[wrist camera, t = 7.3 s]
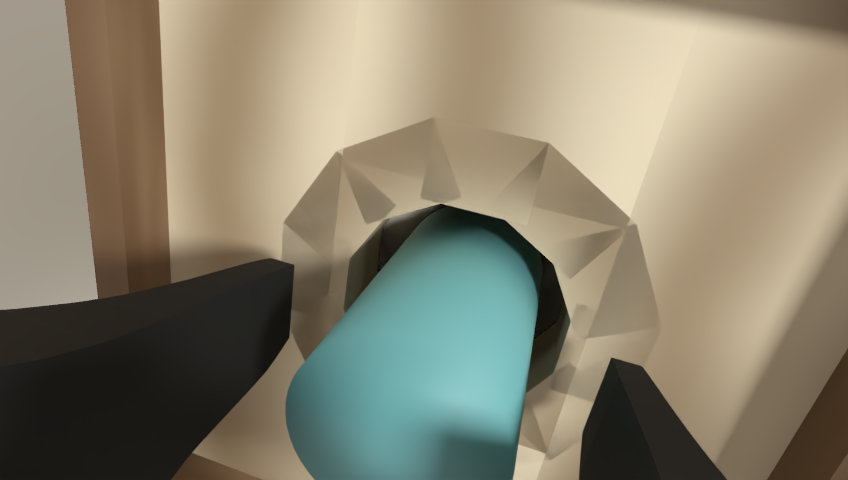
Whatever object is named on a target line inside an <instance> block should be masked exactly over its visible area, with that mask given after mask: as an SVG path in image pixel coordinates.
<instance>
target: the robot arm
mask: <svg viewBox="0 0 848 480" xmlns="http://www.w3.org/2000/svg"><path fill="white" fill-rule="evenodd" d="M293 279H294V265H293V264H290V263H287V262H283V261H280V260H276V259H273V258H268V259H262V260H257V261H253V262H249V263H245V264H241V265H238V266H234V267H231V268H227V269H224V270H220V271H216V272H213V273H209V274H206V275H202V276H198V277H195V278H191V279H188V280H184V281H180V282H175V283H171V284H167V285H163V286H159V287H155V288H151V289H147V290H143V291H138V292H134V293H129V294H124V295H118V296H113V297H107V298H101V299H95V300H89V301H83V302H76V303H68V304H58V305H49V306H40V307H31V308H22V309H10V310H0V480H171V479H172V478H173V477H174V475H175V474H176V473H177V471H178V470H179V469H180V467H181V466H182V465H183V463H184V462H185V461H186V459H187V458H188V457H189V456H190V455H191V454H192V452H193V451H194V450H195V449H196V448H197V447H198V445H199V444H200V443H201V442H202V441H203V440H204V439H205V438H206V437H207V436H208V434H209V433H210V432H211V431H212V430H213V429H214V428H215V427H216V426H217V425H218V424H219V423H220V422H221V420H222V419H223V418H224V417H225V416H226V415H227V414H228V413H229V412H230V411H231V410H232V409H233V408H234V406H235V405H236V404H237V403H238V402H239V401H240V400H241V399H242V398H243V397H244V396H245V395H246V393H247V392H248V391H249V390H250V389H251V388H252V387H253V386H254V385H255V384H256V383H257V381H258V380H259V379H260V378H261V377H262V376H263V375H264V374H265V372H266V371H267V370H268V368H269V367H270V366H271V364H272V363H273V362H274V360H275V359H276V357H277V356H278V354H279V353H280V351H281V350H282V348H283V347H284V345H285V344H286V342H287V341H288V339H289V337H290V323H291V308H292V293H293ZM579 480H727V479H726V477H725V476H724V475H723V474H722V473H721V471H720V470H719V469H718V468H717V467H716V465H715V464H714V463H713V462H712V461H711V459H710V458H709V457H708V456H707V454H706V453H705V452H704V451H703V449H702V448H701V447H700V445H699V444H698V443H697V441H696V440H695V439H694V438H693V436H692V435H691V434H690V432H689V431H688V430H687V428H686V427H685V425H684V424H683V423H682V421H681V420H680V419H679V417H678V416H677V414H676V413H675V412H674V410H673V409H672V407H671V406H670V405H669V403H668V402H667V400H666V399H665V398H664V396H663V395H662V393H661V392H660V390H659V389H658V387H657V386H656V385H655V383H654V382H653V380H652V379H651V378H650V376H649V375H648V373H647V372H646V371H645V369H644V368H643V367H642V366H640V365H636V364H633V363H630V362H626V361H623V360H619V359H616V358H612V357H611V359H610V362H609V365H608V367H607V370H606V372H605V375H604V378H603V380H602V383H601V385H600V388H599V390H598V393H597V396H596V398H595V401H594V403H593V406H592V409H591V411H590V414H589V416H588V419H587V421H586V424H585V427H584V429H583V432H582V443H581V454H580V468H579Z"/></svg>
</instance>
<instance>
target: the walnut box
mask: <svg viewBox="0 0 848 480" xmlns="http://www.w3.org/2000/svg"><path fill="white" fill-rule="evenodd" d="M65 6H66V14H67V23H68V33H69V42H70V50H71V59H72V68H73V77H74V86H75V95H76V104H77V112H78V122H79V130H80V140H81V147H82V148H81V149H82V157H83V166H84V175H85V184H86V193H87V202H88V211H89V220H90V229H91V237H92V247H93V256H94V265H95V273H96V283H97V292H98V299H101V298H107V297H113V296H118V295H124V294H129V293H134V292H138V291H143V290H147V289H151V288H155V287H159V286H163V285H167V284H171V283H175V282H180V281H184V280H188V279H191V278H195V277H198V276H202V275H206V274H209V273H213V272H216V271H220V270H224V269H227V268H231V267H234V266H238V265H241V264H245V263H249V262H253V261H257V260H262V259H268V258H273V259H276V260H280V261H283V262H287V263H290V264H293V265H294V279H293V293H292V308H291V323H290V337H289V339H288V341H287V342H286V344H285V345H284V347H283V348H282V350H281V351H280V353H279V354H278V356H277V357H276V359H275V360H274V362H273V363H272V364H271V366H270V367H269V368H268V370H267V371H266V372H265V374H264V375H263V376H262V377H261V378H260V379H259V380H258V381H257V383H256V384H255V385H254V386H253V387H252V388H251V389H250V390H249V391H248V392H247V393H246V395H245V396H244V397H243V398H242V399H241V400H240V401H239V402H238V403H237V404H236V405H235V406H234V408H233V409H232V410H231V411H230V412H229V413H228V414H227V415H226V416H225V417H224V418H223V419H222V420H221V422H220V423H219V424H218V425H217V426H216V427H215V428H214V429H213V430H212V431H211V432H210V433H209V434H208V436H207V437H206V438H205V439H204V440H203V441H202V442H201V443H200V444H199V445H198V447H197V448H196V449H195V450H194V451H193V452H192V454H191V455H190V456H189V457H188V458H187V459H186V461H185V462H184V463H183V465H182V466H181V467H180V469H179V470H178V471H177V473H176V474H175V475H174V477H173V478H172V479H171V480H314V478H313V477H312V476H311V475H310V474H309V472H308V471H307V470H306V468H305V467H304V465H303V464H302V462H301V461H300V459H299V457H298V455H297V453H296V452H295V450H294V447H293V445H292V442H291V440H290V437H289V433H288V429H287V425H286V417H285V402H286V397H287V392H288V389H289V386H290V383H291V381H292V379H293V377H294V375H295V374H296V372H297V370H298V369H299V368H300V367H301V365H302V364H303V363H304V362H305V361H306V359H307V358H308V357H309V356H310V355H311V353H312V352H313V351H314V350H315V349H316V347H317V346H318V345H319V344H320V343H321V341H322V340H323V339H324V338H325V337H326V335H327V334H328V333H329V332H330V331H331V329H332V328H333V327H334V326H335V325H336V323H337V322H338V321H339V320H340V319H341V317H342V316H343V315H344V314H345V313H346V311H347V310H348V309H349V308H350V307H351V305H352V304H353V303H354V302H355V301H356V299H357V298H358V297H359V296H360V294H361V293H362V292H363V291H364V290H365V288H366V287H367V286H368V285H369V284H370V282H371V281H372V280H373V279H374V278H375V276H376V275H377V274H378V271H377V266H378V259H379V252H380V245H381V238H382V231H383V225H384V224H385V223H386V222H387V221H388V220H389V218H391V217H394V216H398V215H402V214H405V213H409V212H412V211H416V210H420V209H423V208H427V207H430V206H434V205H438V204H445V205H449V206H453V207H457V208H460V209H464V210H468V211H472V212H476V213H480V214H484V215H488V216H492V217H496V218H500V219H504V220H506V221H507V222H508V223H509V224H510V225H511V226H512V227H513V228H515V229H516V230H517V231H518V232H519V233H520V234H521V235H522V236H523V237H524V238H525V239H527V240H528V241H529V242H530V243H531V244H532V245H533V246H534V247H535V248H536V249H537V250H539V251H540V252H541V253H542V254H543V255H544V256H545V257H546V258H547V259H548V260H549V261H551V262H552V263H553V264H554V267H555V270H556V274H557V277H558V280H559V284H560V287H561V290H562V294H563V297H564V302H563V306H562V309H561V312H560V315H559V318H558V321H557V322H556V323H554V324H553V325H552V326H551V327H549V328H548V329H547V330H546V331H544V332H543V333H542V334H541V335H539V336H538V337H537V338H536V339H534V340H533V346H532V353H531V360H530V366H529V373H528V380H527V387H526V394H525V401H524V408H523V415H522V422H521V429H520V436H519V443H518V450H517V457H516V464H515V471H514V476H513V480H579V468H580V454H581V443H582V432H583V429H584V427H585V424H586V421H587V419H588V416H589V414H590V411H591V409H592V406H593V403H594V401H595V398H596V396H597V393H598V390H599V388H600V385H601V383H602V380H603V378H604V375H605V372H606V370H607V367H608V365H609V362H610V359H611V357H612V358H616V359H619V360H623V361H626V362H630V363H633V364H636V365H640V366H642V367H643V368H644V369H645V371H646V372H647V373H648V375H649V376H650V378H651V379H652V380H653V382H654V383H655V385H656V386H657V387H658V389H659V390H660V392H661V393H662V395H663V396H664V398H665V399H666V400H667V402H668V403H669V405H670V406H671V407H672V409H673V410H674V412H675V413H676V414H677V416H678V417H679V419H680V420H681V421H682V423H683V424H684V425H685V427H686V428H687V430H688V431H689V432H690V434H691V435H692V436H693V438H694V439H695V440H696V441H697V443H698V444H699V445H700V447H701V448H702V449H703V451H704V452H705V453H706V454H707V456H708V457H709V458H710V459H711V461H712V462H713V463H714V464H715V465H716V467H717V468H718V469H719V470H720V471H721V473H722V474H723V475H724V476H725V477H726V479H727V480H848V0H65Z"/></svg>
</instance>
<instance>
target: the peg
mask: <svg viewBox="0 0 848 480" xmlns="http://www.w3.org/2000/svg"><path fill="white" fill-rule="evenodd" d="M541 283H542V263H541V258H540V254H539V251H538V250H537V249H536V248H535V247H534V246H533V245H532V244H531V243H530V242H529V241H528V240H527V239H525V238H524V237H523V236H522V235H521V234H520V233H519V232H518V231H517V230H516V229H515V228H513V227H512V226H511V225H510V224H509V223H508V222H507V221H506V220H504V219H500V218H496V217H492V216H488V215H484V214H480V213H476V212H472V211H468V210H464V209H460V208H457V207H453V206H447V207H443V208H441V209H439V210H437V211H435V212H433V213H432V214H430V215H428V216H427V217H426V218H425V219H424V220H423V221H421V222H420V224H419V225H418V226H417V227H416V228H415V230H414V231H413V232H412V233H411V234H410V236H409V237H408V238H407V239H406V240H405V242H404V243H403V244H402V245H401V246H400V248H399V249H398V250H397V251H396V252H395V254H394V255H393V256H392V257H391V258H390V260H389V261H388V262H387V263H386V264H385V266H384V267H383V268H382V269H381V270H380V272H379V273H378V274H377V275H376V276H375V278H374V279H373V280H372V281H371V282H370V284H369V285H368V286H367V287H366V288H365V290H364V291H363V292H362V293H361V294H360V296H359V297H358V298H357V299H356V301H355V302H354V303H353V304H352V305H351V307H350V308H349V309H348V310H347V311H346V313H345V314H344V315H343V316H342V317H341V319H340V320H339V321H338V322H337V323H336V325H335V326H334V327H333V328H332V329H331V331H330V332H329V333H328V334H327V335H326V337H325V338H324V339H323V340H322V341H321V343H320V344H319V345H318V346H317V347H316V349H315V350H314V351H313V352H312V353H311V355H310V356H309V357H308V358H307V359H306V361H305V362H304V363H303V364H302V365H301V367H300V368H299V369H298V370H297V372H296V374H295V375H294V377H293V379H292V381H291V383H290V386H289V389H288V392H287V397H286V402H285V417H286V425H287V429H288V433H289V437H290V440H291V442H292V445H293V447H294V450H295V452H296V453H297V455H298V457H299V459H300V461H301V462H302V464H303V465H304V467H305V468H306V470H307V471H308V472H309V474H310V475H311V476H312V477H313V478H314V480H513V476H514V471H515V464H516V457H517V450H518V443H519V436H520V429H521V422H522V415H523V408H524V401H525V394H526V387H527V380H528V373H529V366H530V360H531V353H532V346H533V339H534V332H535V325H536V318H537V311H538V304H539V297H540V290H541Z"/></svg>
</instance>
